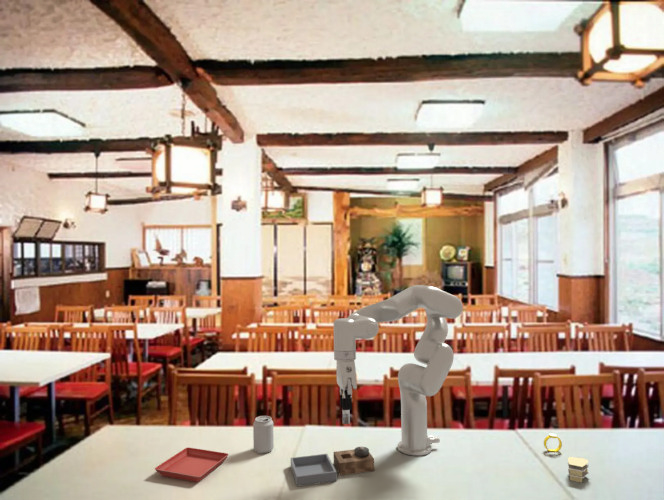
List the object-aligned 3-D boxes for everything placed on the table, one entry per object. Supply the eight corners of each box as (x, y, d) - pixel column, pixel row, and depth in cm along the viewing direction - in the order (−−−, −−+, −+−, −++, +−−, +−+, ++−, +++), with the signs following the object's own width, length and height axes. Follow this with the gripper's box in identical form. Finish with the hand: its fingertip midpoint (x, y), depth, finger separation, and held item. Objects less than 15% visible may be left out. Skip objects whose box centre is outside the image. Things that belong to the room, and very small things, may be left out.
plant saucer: (229, 462, 163) (229, 452, 163) (199, 486, 146) (199, 476, 146) (187, 455, 169) (186, 446, 169) (153, 478, 152) (153, 468, 152)
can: (269, 455, 168) (269, 422, 168) (250, 453, 169) (250, 421, 169) (276, 446, 175) (275, 415, 175) (257, 445, 176) (257, 414, 177)
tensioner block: (366, 459, 163) (366, 441, 163) (374, 470, 154) (374, 452, 154) (333, 463, 160) (333, 445, 160) (340, 475, 152) (339, 456, 152)
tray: (327, 462, 161) (327, 453, 161) (336, 481, 148) (336, 471, 148) (290, 466, 158) (290, 457, 158) (296, 486, 145) (296, 476, 145)
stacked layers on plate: (593, 489, 141) (592, 471, 141) (561, 481, 146) (560, 464, 146) (594, 475, 150) (594, 458, 150) (564, 468, 154) (563, 452, 154)
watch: (546, 452, 166) (545, 436, 166) (542, 449, 169) (542, 433, 169) (562, 452, 166) (562, 436, 166) (559, 449, 169) (559, 433, 169)
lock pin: (348, 421, 158) (348, 392, 158) (350, 423, 156) (350, 394, 156) (342, 421, 158) (341, 393, 158) (343, 424, 155) (343, 395, 156)
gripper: (362, 359, 150) (363, 415, 150) (349, 349, 166) (350, 400, 166) (340, 360, 148) (341, 417, 148) (329, 350, 164) (330, 401, 164)
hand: (346, 407), depth 157 cm, fingers closed on lock pin, 2 cm apart
